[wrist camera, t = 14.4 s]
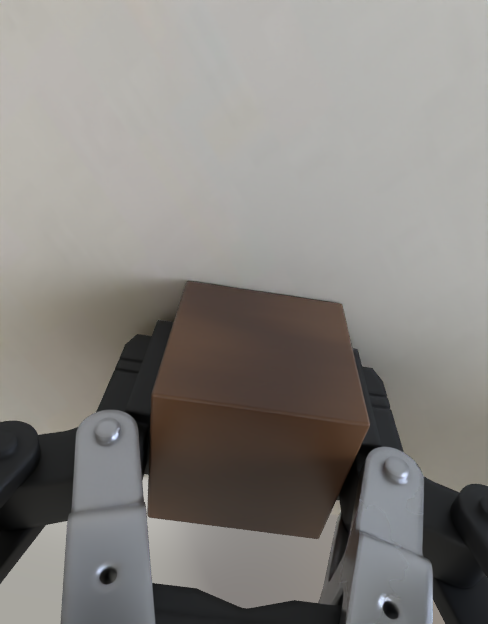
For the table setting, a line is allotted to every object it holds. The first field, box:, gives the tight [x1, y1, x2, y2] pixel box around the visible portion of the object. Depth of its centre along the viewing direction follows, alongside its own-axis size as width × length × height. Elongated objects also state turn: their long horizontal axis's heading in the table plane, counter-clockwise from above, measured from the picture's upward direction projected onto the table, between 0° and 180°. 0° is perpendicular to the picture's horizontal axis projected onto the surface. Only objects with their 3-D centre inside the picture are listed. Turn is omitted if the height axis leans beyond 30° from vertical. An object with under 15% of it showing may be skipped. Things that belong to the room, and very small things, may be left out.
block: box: [148, 281, 370, 539], centre depth 12 cm, size 4×4×4 cm
